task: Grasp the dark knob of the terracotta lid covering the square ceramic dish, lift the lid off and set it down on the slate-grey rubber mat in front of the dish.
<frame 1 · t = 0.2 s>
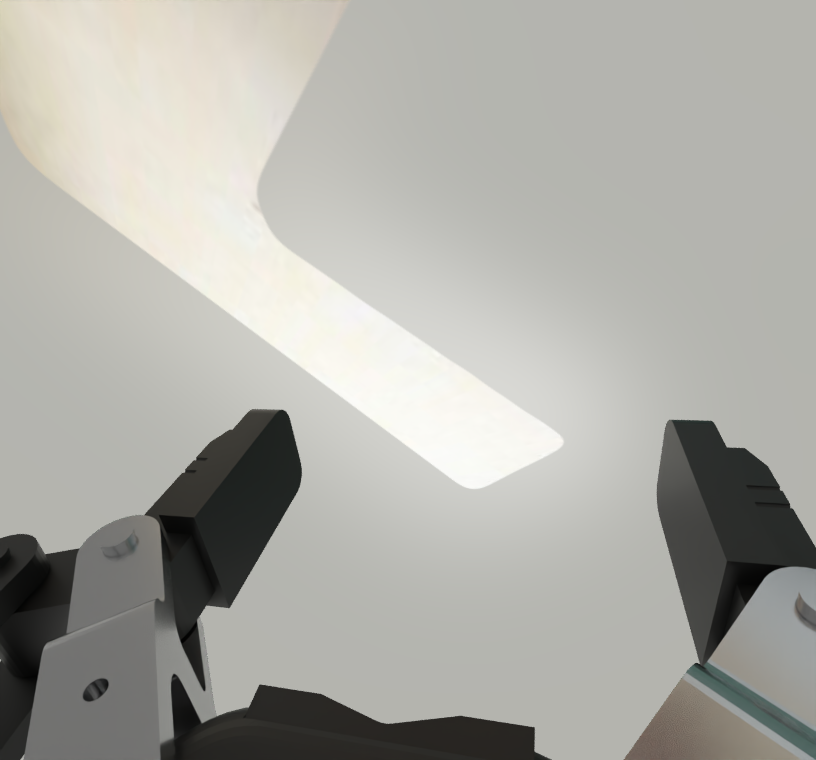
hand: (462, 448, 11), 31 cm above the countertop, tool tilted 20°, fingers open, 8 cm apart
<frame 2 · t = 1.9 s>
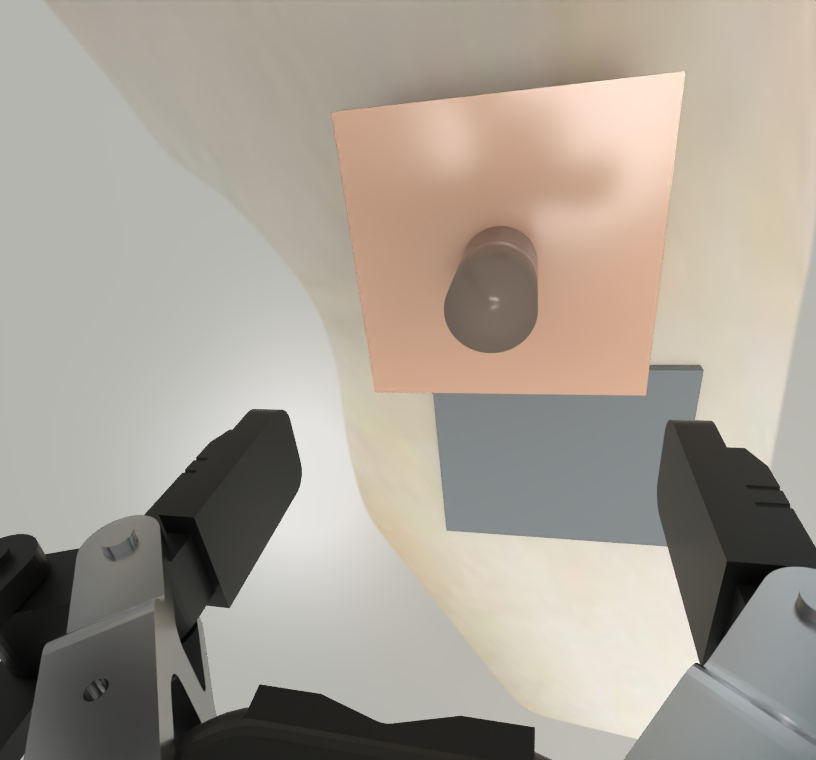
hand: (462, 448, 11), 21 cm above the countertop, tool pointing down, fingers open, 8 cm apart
mat: (556, 456, 36), on the countertop
lid: (500, 258, 24), point 7 cm above the countertop, touching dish
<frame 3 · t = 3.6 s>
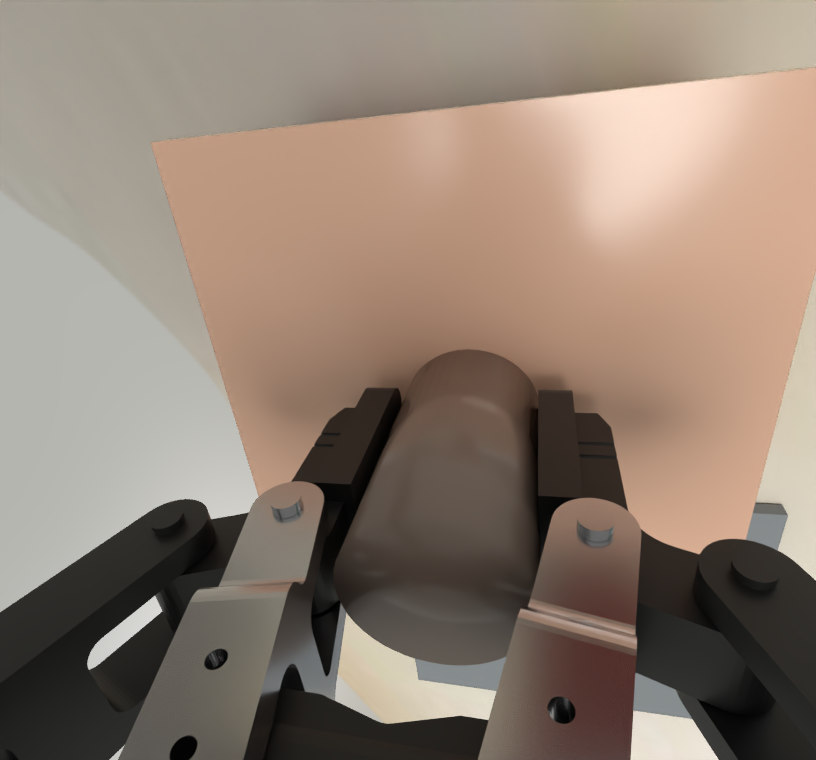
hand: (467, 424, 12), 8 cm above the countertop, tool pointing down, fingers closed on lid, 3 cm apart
mat: (565, 603, 26), on the countertop
lid: (475, 392, 14), point 7 cm above the countertop, touching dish, gripper
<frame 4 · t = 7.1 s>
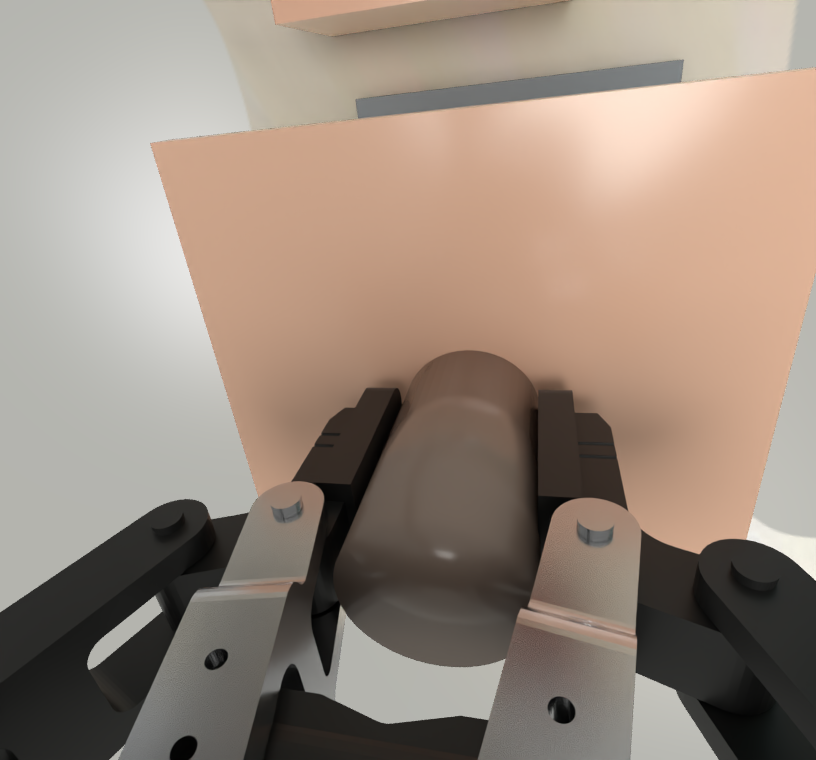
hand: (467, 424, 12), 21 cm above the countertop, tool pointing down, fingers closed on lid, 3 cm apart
mat: (510, 221, 30), on the countertop
lid: (475, 393, 14), point 20 cm above the countertop, touching gripper
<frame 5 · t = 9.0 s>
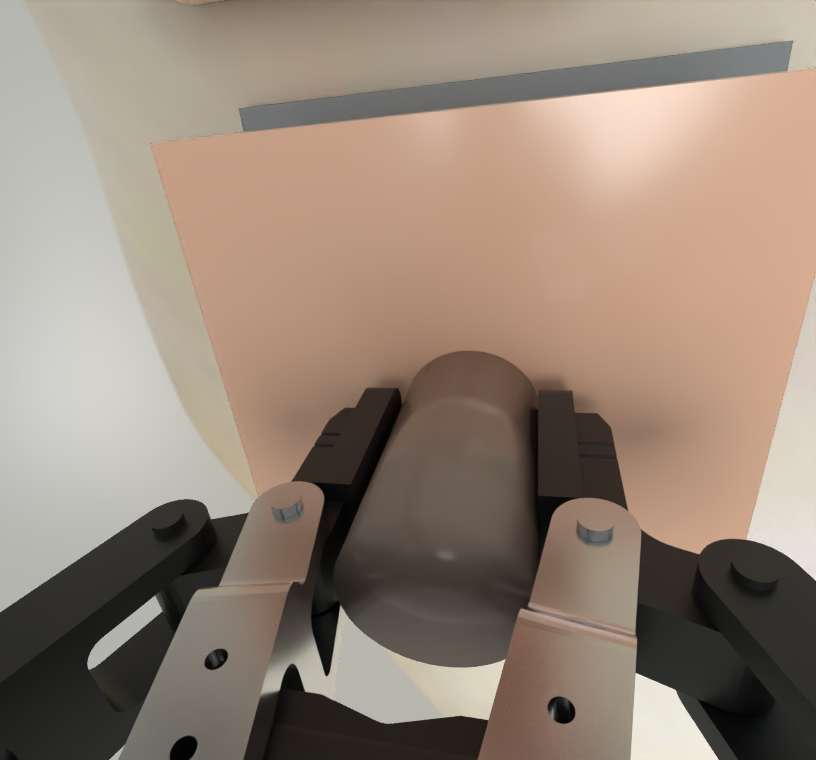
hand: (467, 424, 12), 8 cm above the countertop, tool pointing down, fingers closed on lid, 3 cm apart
mat: (492, 297, 20), on the countertop
lid: (475, 393, 14), point 7 cm above the countertop, touching gripper
when the fingers open (3 cm above the countertop, at t = 10.4 s): lid drops 1 cm, resting on mat.
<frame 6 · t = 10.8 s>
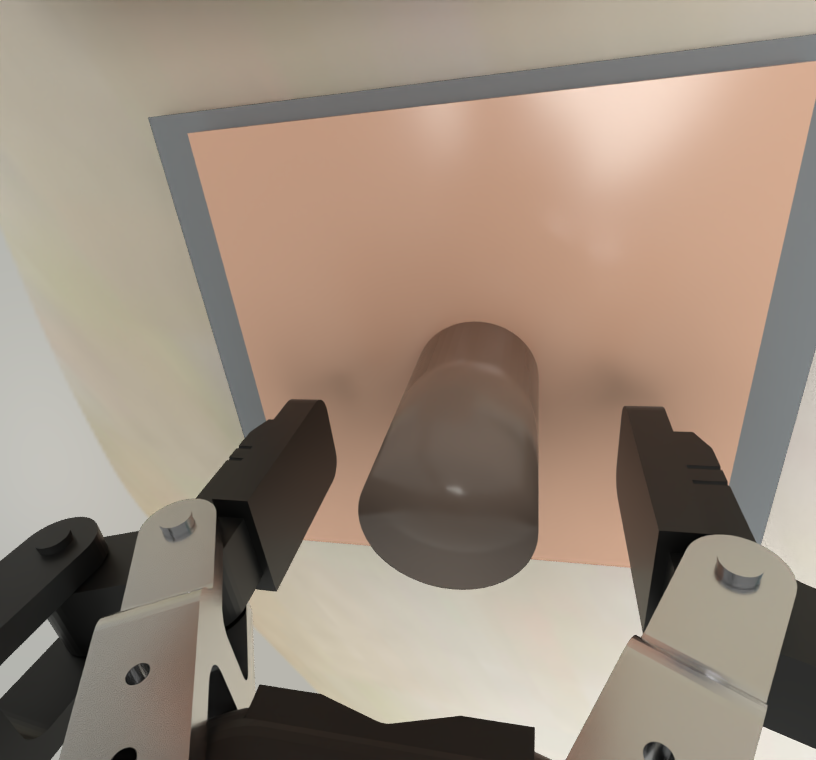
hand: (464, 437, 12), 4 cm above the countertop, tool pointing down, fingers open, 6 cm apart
mat: (481, 356, 15), on the countertop
lid: (479, 363, 15), point 1 cm above the countertop, touching mat
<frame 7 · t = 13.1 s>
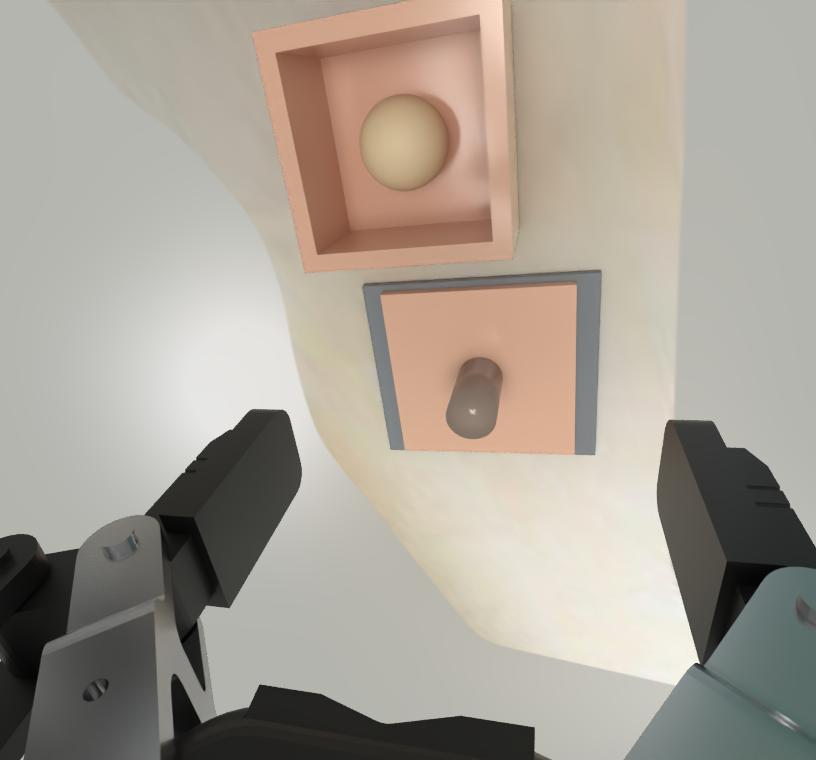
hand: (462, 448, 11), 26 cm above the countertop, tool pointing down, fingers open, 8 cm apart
mat: (482, 369, 39), on the countertop
beige ball: (413, 140, 32), point 1 cm above the countertop, touching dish
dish: (417, 139, 33), on the countertop
lid: (481, 372, 39), point 1 cm above the countertop, touching mat
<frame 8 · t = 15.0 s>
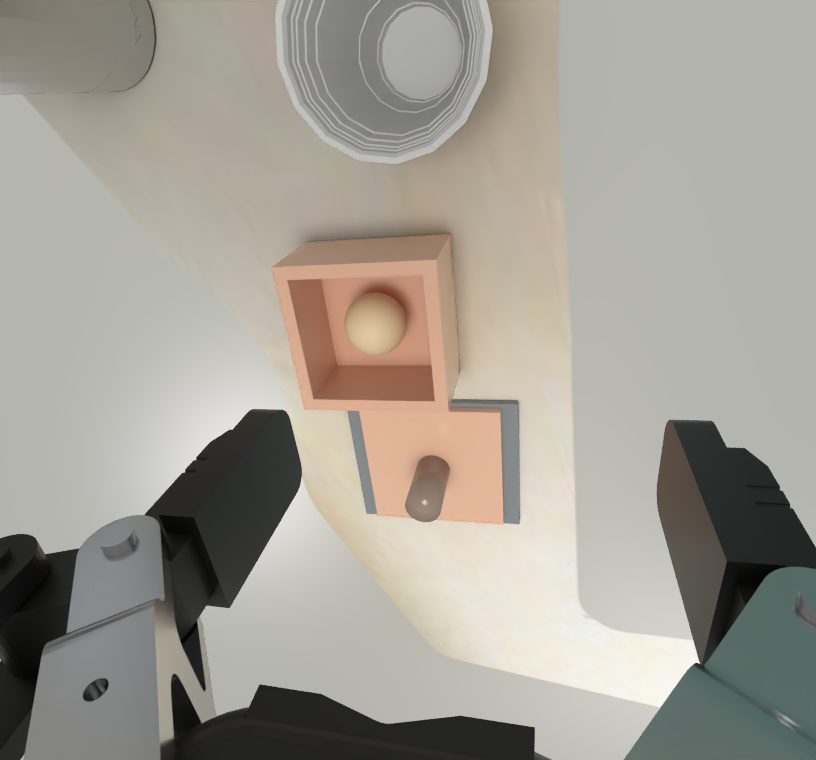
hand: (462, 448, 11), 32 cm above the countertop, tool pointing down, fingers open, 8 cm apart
mat: (435, 460, 52), on the countertop
beige ball: (383, 312, 45), point 1 cm above the countertop, touching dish
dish: (386, 308, 46), on the countertop
lid: (434, 463, 52), point 1 cm above the countertop, touching mat
plastic cup: (424, 55, 36), on the countertop
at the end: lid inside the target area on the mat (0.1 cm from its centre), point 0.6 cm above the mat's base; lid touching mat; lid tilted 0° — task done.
